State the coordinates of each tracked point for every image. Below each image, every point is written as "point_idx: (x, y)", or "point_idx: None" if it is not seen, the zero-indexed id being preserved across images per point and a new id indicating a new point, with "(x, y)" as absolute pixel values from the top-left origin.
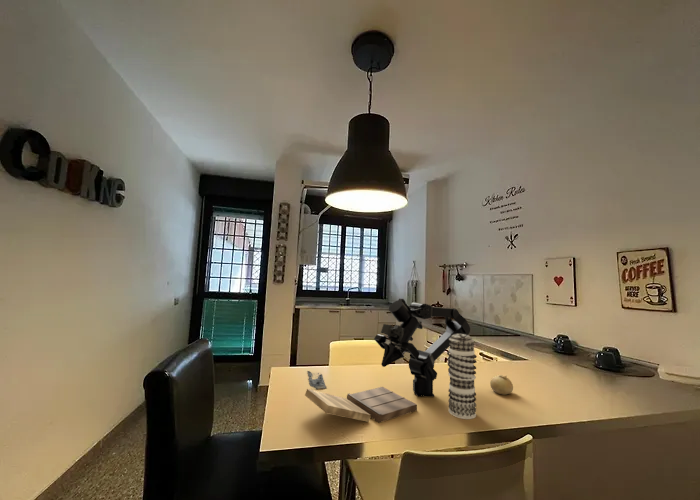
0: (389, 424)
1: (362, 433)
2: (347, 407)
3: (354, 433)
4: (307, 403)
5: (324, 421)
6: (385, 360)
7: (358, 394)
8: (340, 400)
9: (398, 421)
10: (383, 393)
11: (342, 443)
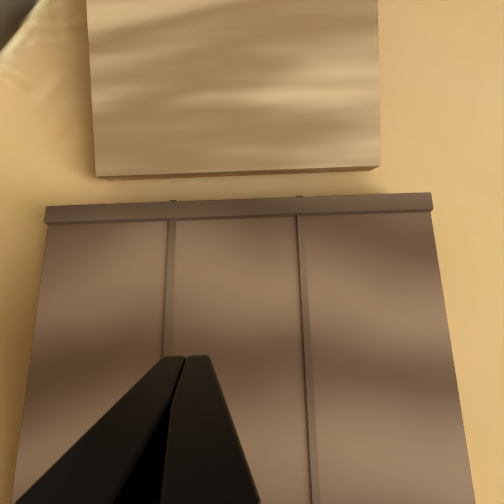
0: (19, 262)
1: (44, 100)
2: (138, 21)
3: (67, 72)
4: (474, 10)
5: None
6: (113, 418)
7: (403, 272)
8: (275, 49)
9: (9, 332)
10: (331, 481)
11: (37, 3)
